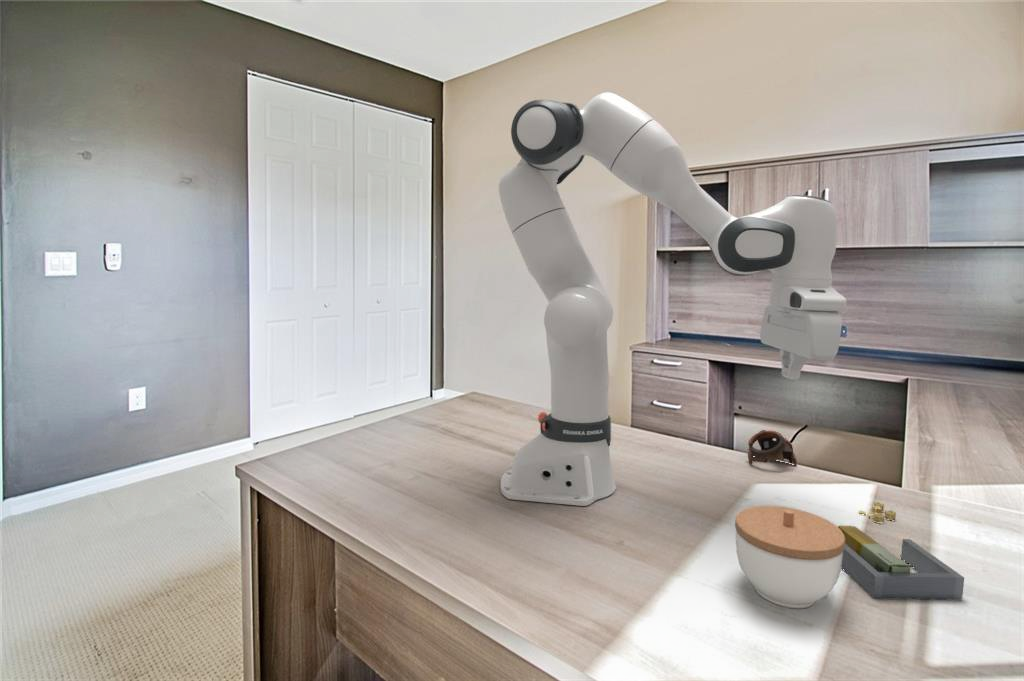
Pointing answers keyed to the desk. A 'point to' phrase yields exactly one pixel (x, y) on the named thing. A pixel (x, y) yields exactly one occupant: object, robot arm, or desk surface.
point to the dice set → (877, 515)
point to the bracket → (906, 576)
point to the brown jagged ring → (770, 448)
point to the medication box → (872, 551)
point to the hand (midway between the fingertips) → (790, 378)
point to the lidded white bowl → (788, 554)
